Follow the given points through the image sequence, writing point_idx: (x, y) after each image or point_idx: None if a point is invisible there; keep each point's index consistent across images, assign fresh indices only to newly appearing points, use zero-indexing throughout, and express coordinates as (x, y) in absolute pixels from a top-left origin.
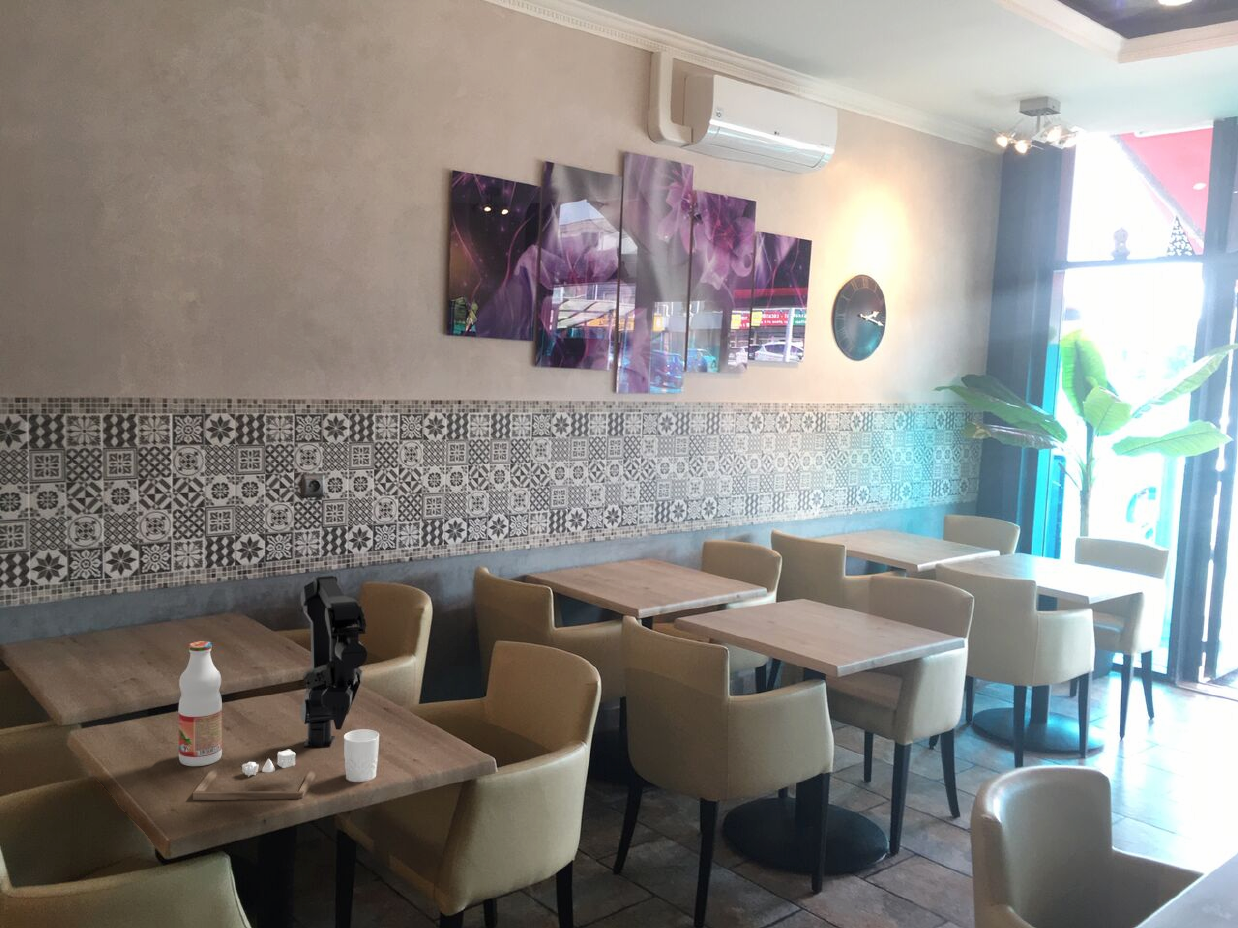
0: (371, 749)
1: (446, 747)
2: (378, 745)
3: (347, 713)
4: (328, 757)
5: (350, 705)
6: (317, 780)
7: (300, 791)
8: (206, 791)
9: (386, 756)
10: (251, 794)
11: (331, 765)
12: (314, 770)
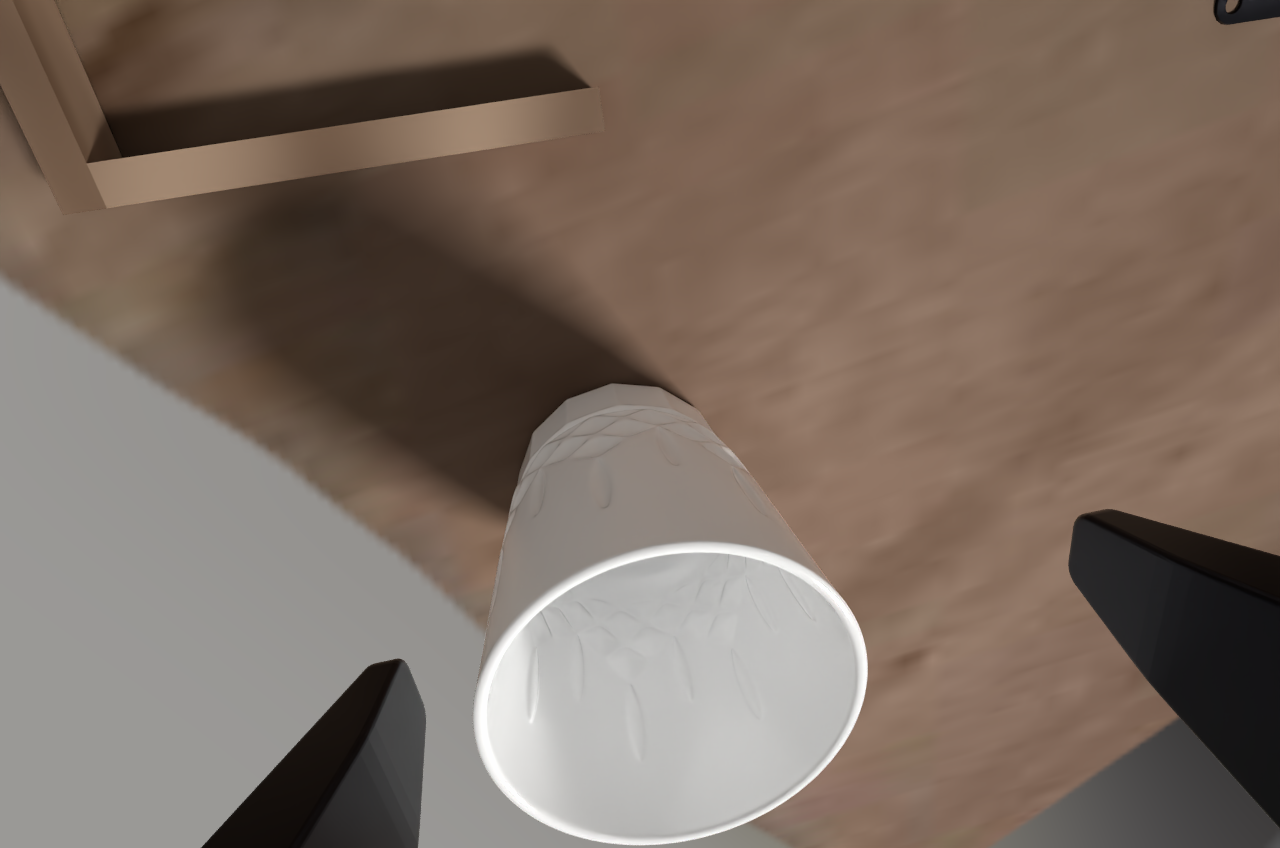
0: (563, 742)
1: (1067, 736)
2: (677, 747)
3: (1080, 589)
4: (968, 106)
5: (1209, 738)
6: (506, 189)
7: (94, 181)
8: None
9: (965, 506)
10: None
11: (808, 194)
12: (573, 134)
